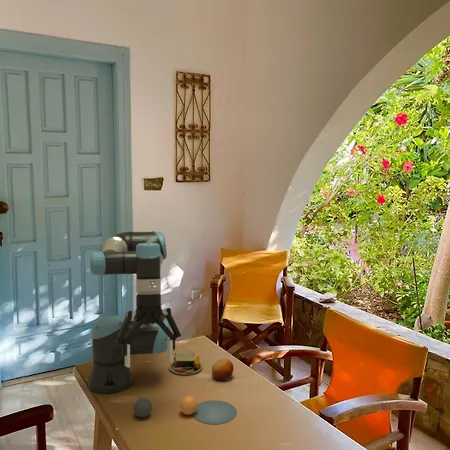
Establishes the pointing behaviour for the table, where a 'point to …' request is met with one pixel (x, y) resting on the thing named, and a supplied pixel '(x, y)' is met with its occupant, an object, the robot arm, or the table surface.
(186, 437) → the table surface
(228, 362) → the fruit
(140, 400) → the dark grey ball
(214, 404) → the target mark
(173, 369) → the toy sandwich meal
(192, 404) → the orange ball
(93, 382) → the robot arm
